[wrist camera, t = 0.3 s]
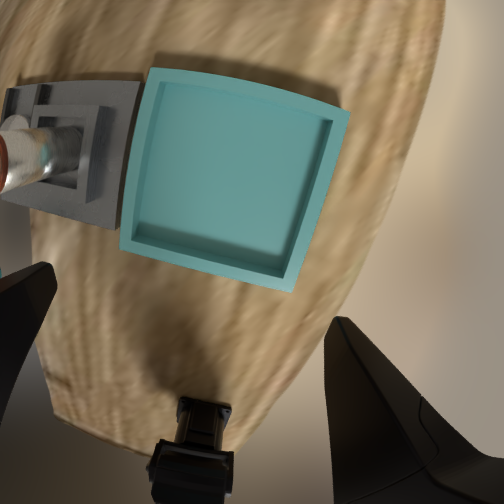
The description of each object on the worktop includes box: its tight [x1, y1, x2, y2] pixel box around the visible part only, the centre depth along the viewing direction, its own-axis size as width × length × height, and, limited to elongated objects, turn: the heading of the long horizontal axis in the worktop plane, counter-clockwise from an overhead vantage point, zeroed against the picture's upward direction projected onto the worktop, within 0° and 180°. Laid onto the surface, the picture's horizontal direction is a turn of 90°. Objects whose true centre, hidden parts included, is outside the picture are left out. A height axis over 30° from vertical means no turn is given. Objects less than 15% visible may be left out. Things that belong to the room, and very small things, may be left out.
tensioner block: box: [0, 80, 145, 231], centre depth 17 cm, size 12×16×3 cm
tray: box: [119, 67, 351, 293], centre depth 19 cm, size 14×14×2 cm
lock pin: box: [0, 126, 83, 194], centre depth 13 cm, size 4×4×10 cm
